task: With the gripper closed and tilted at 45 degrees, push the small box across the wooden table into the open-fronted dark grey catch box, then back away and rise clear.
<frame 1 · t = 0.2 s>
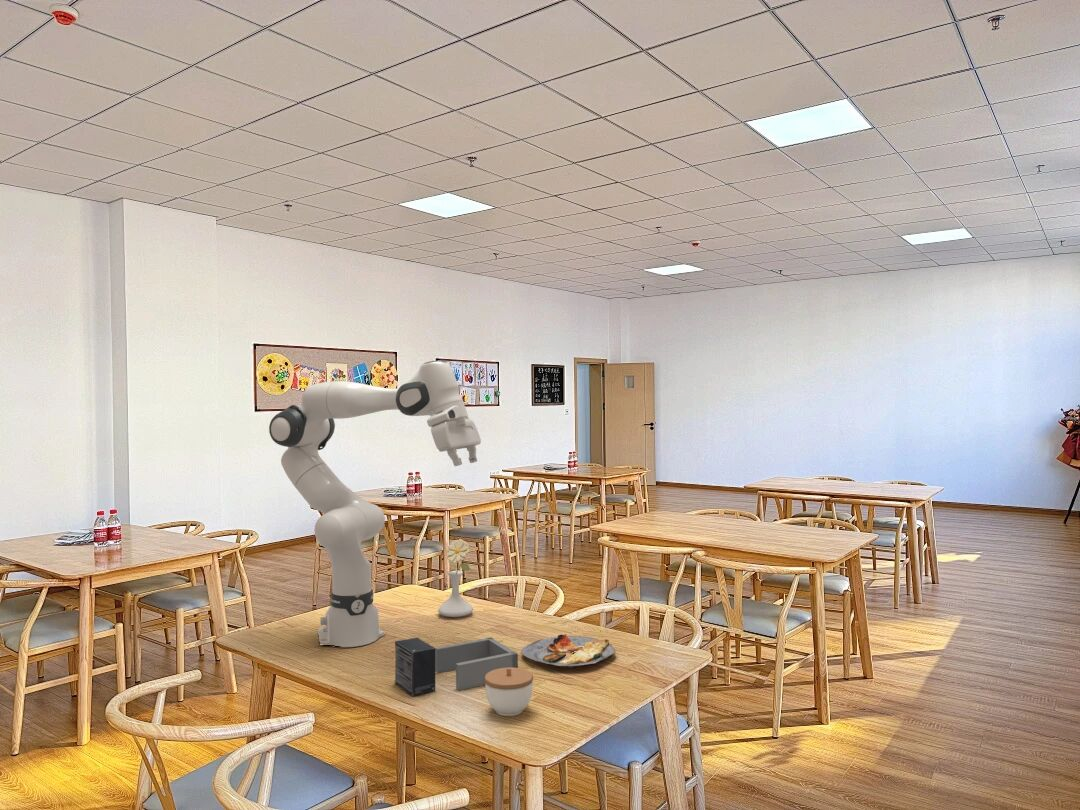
hand: (466, 463, 203), 52 cm above the table, tool tilted 20°, fingers open, 8 cm apart
small box: (415, 688, 179), on the table
lidded jar: (509, 711, 165), on the table
food plate: (569, 658, 200), on the table
catch box: (476, 674, 187), on the table
flower in vase: (457, 616, 240), on the table
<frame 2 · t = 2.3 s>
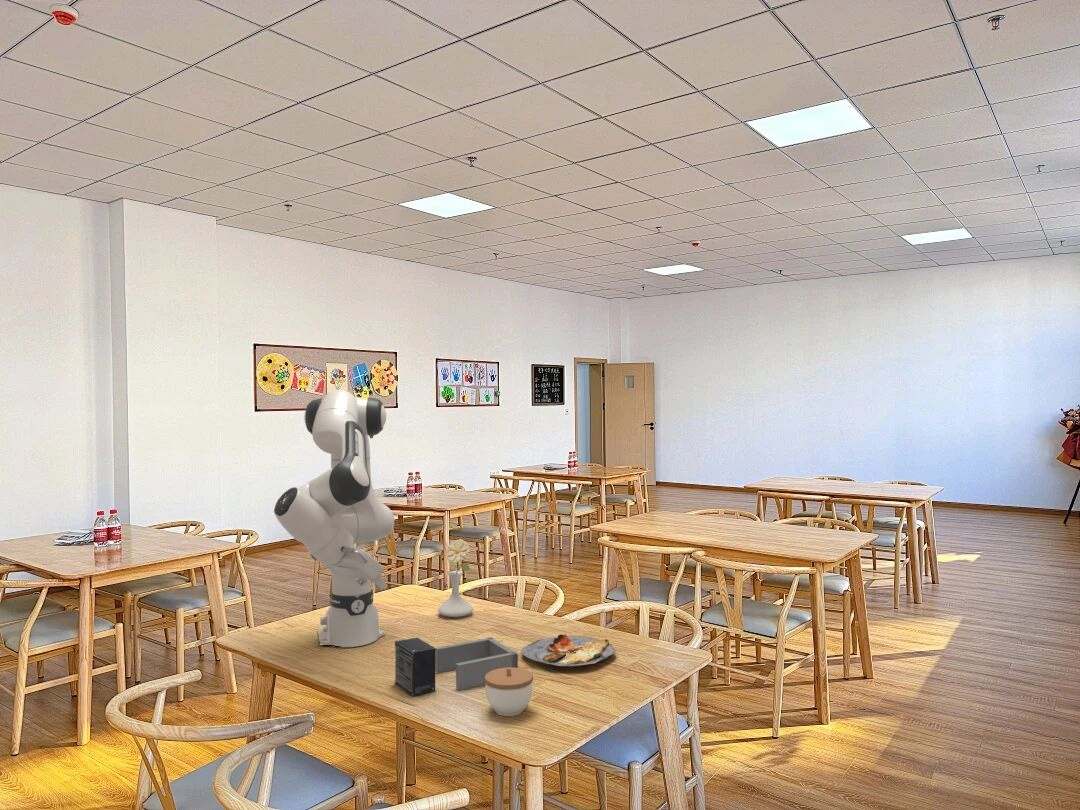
hand: (374, 585, 173), 26 cm above the table, tool tilted 45°, fingers open, 8 cm apart
nothing on the table moved.
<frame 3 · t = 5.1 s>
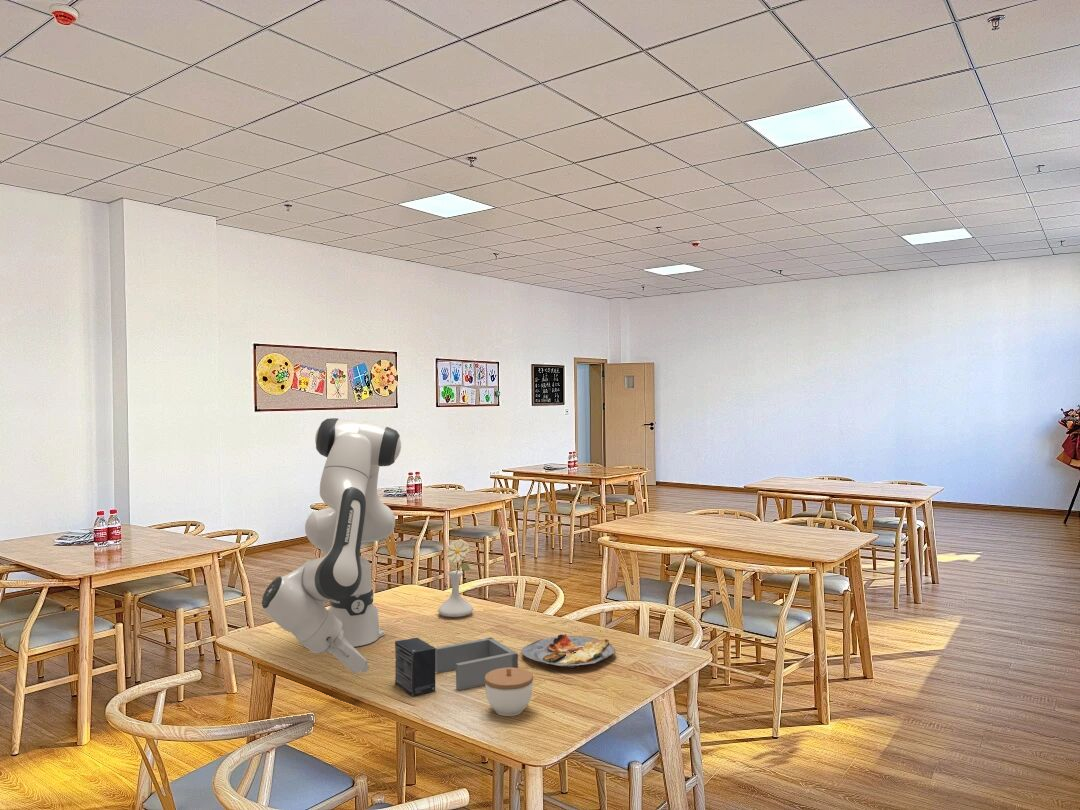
hand: (365, 668, 173), 7 cm above the table, tool tilted 45°, fingers closed
nothing on the table moved.
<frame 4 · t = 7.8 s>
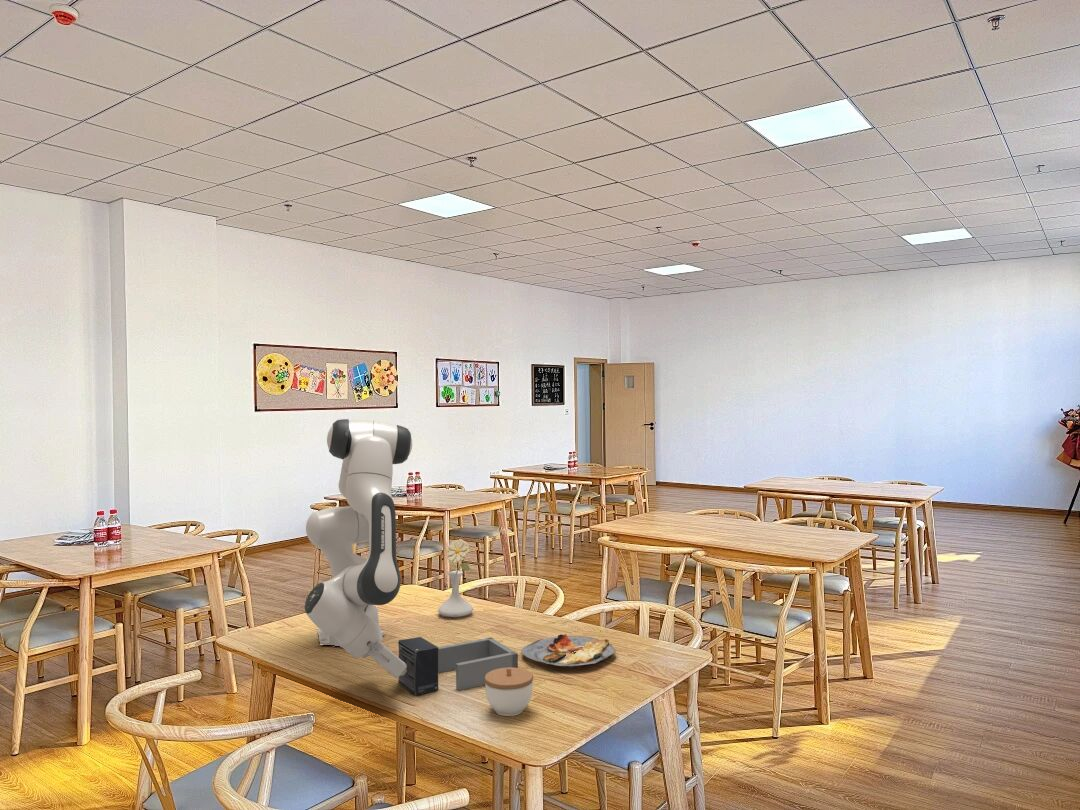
hand: (403, 671, 178), 4 cm above the table, tool tilted 45°, fingers closed
small box: (418, 687, 180), on the table, touching gripper
everything else where it was.
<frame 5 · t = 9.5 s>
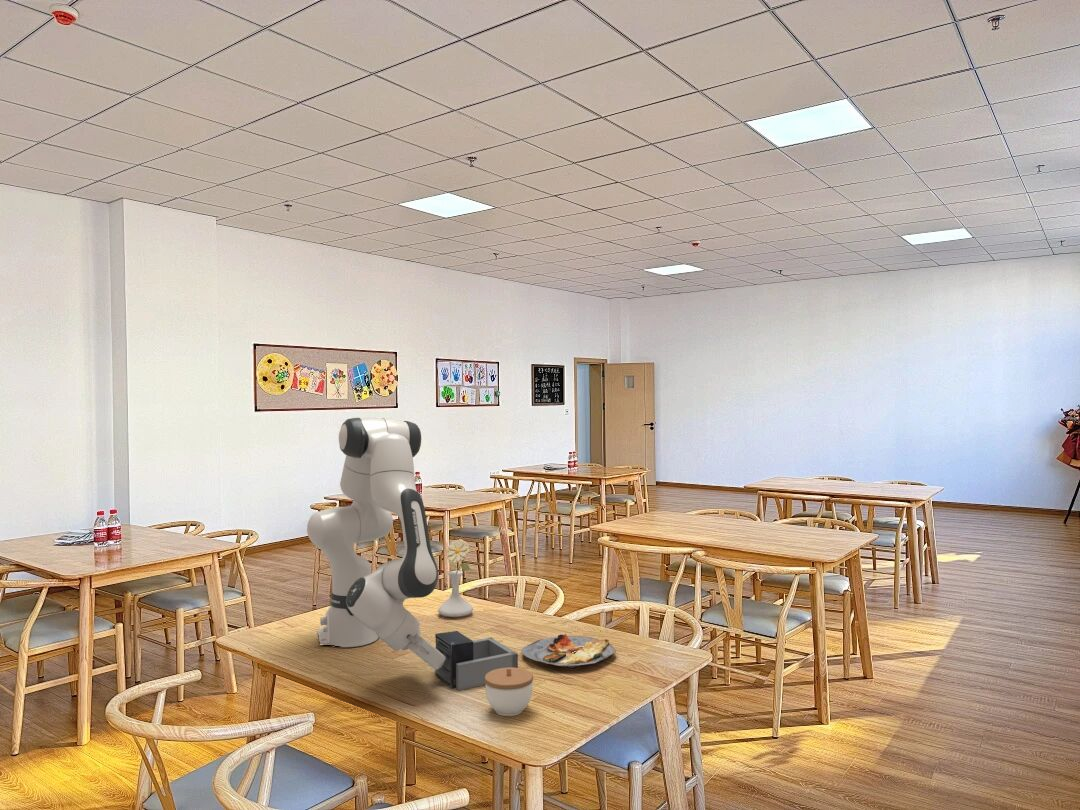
hand: (440, 664, 182), 4 cm above the table, tool tilted 45°, fingers closed, pressing on small box
small box: (454, 680, 184), on the table, touching gripper
everything else where it was.
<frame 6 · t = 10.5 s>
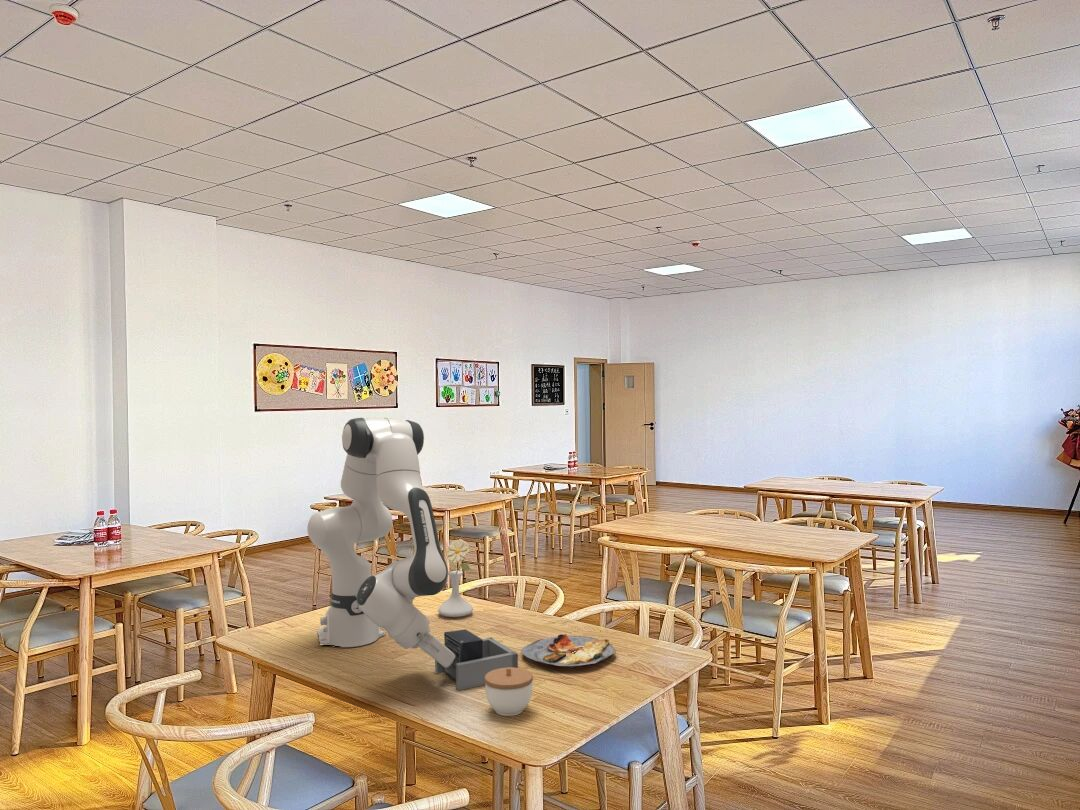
hand: (449, 662, 183), 4 cm above the table, tool tilted 45°, fingers closed, pressing on small box
small box: (463, 678, 185), on the table, touching gripper
everything else where it was.
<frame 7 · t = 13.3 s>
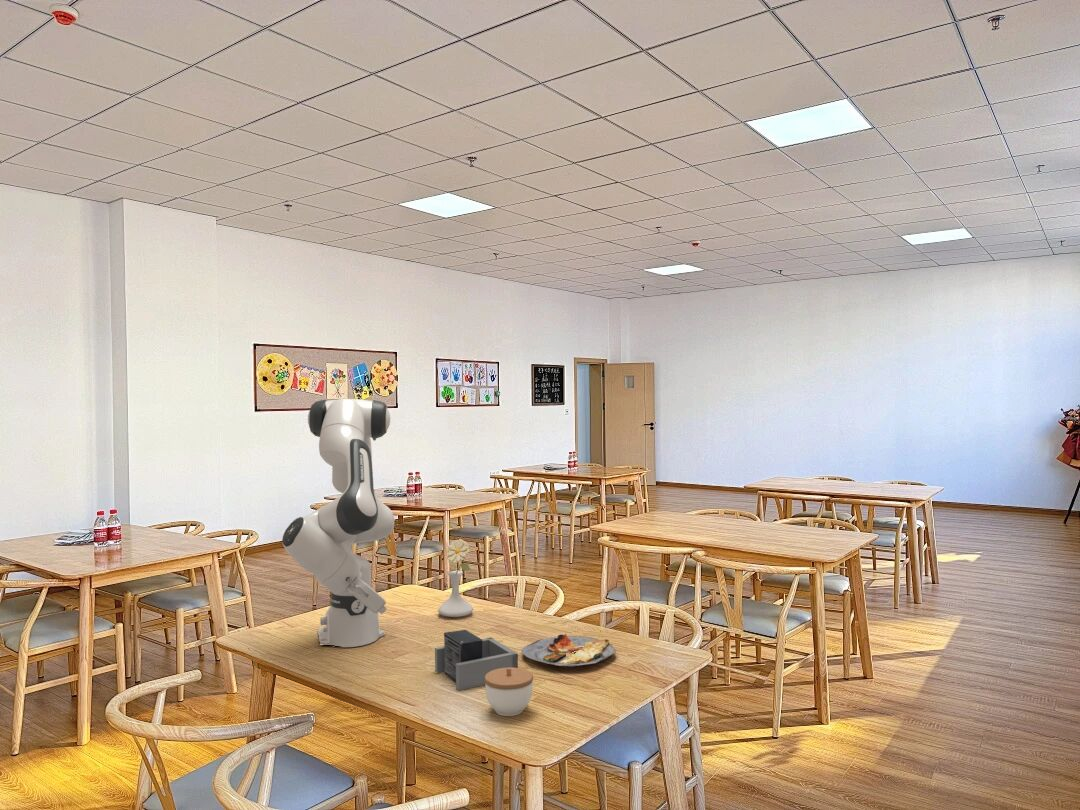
hand: (382, 610, 176), 20 cm above the table, tool tilted 45°, fingers closed
small box: (463, 678, 185), on the table
everything else where it was.
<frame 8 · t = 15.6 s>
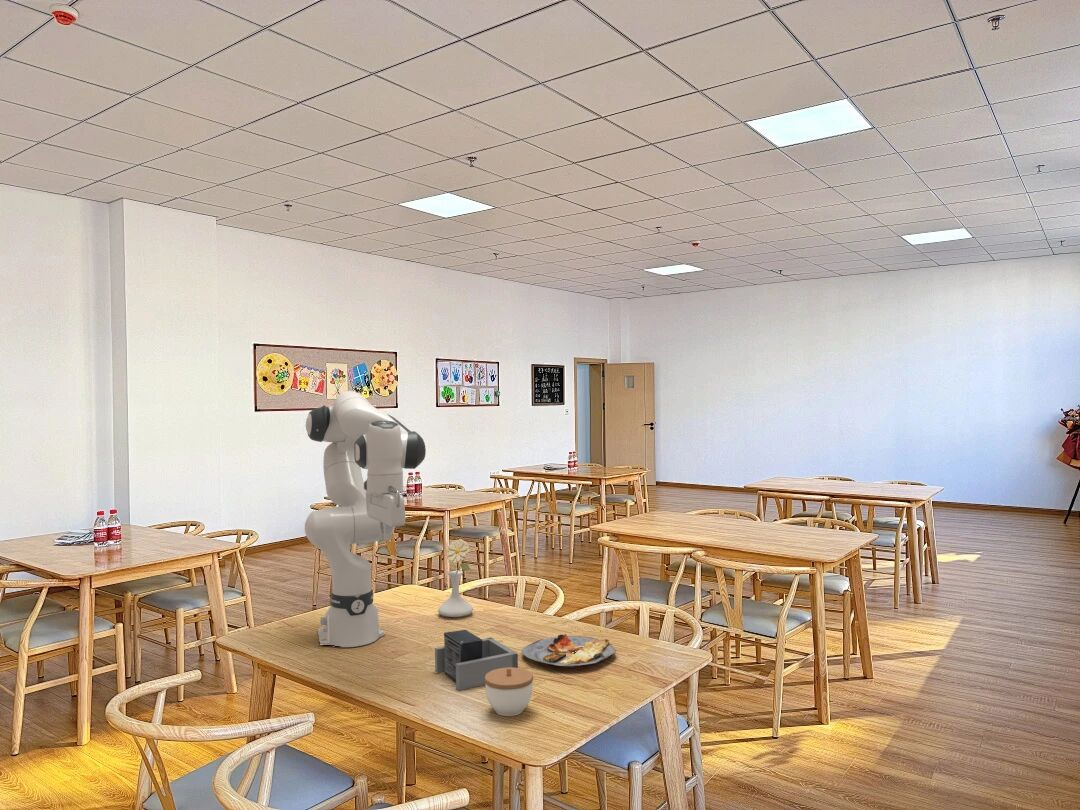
hand: (386, 539, 188), 34 cm above the table, tool pointing down, fingers closed
nothing on the table moved.
at the end: small box inside the target area (3.8 cm from its centre), on the table; small box tilted 0° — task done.
